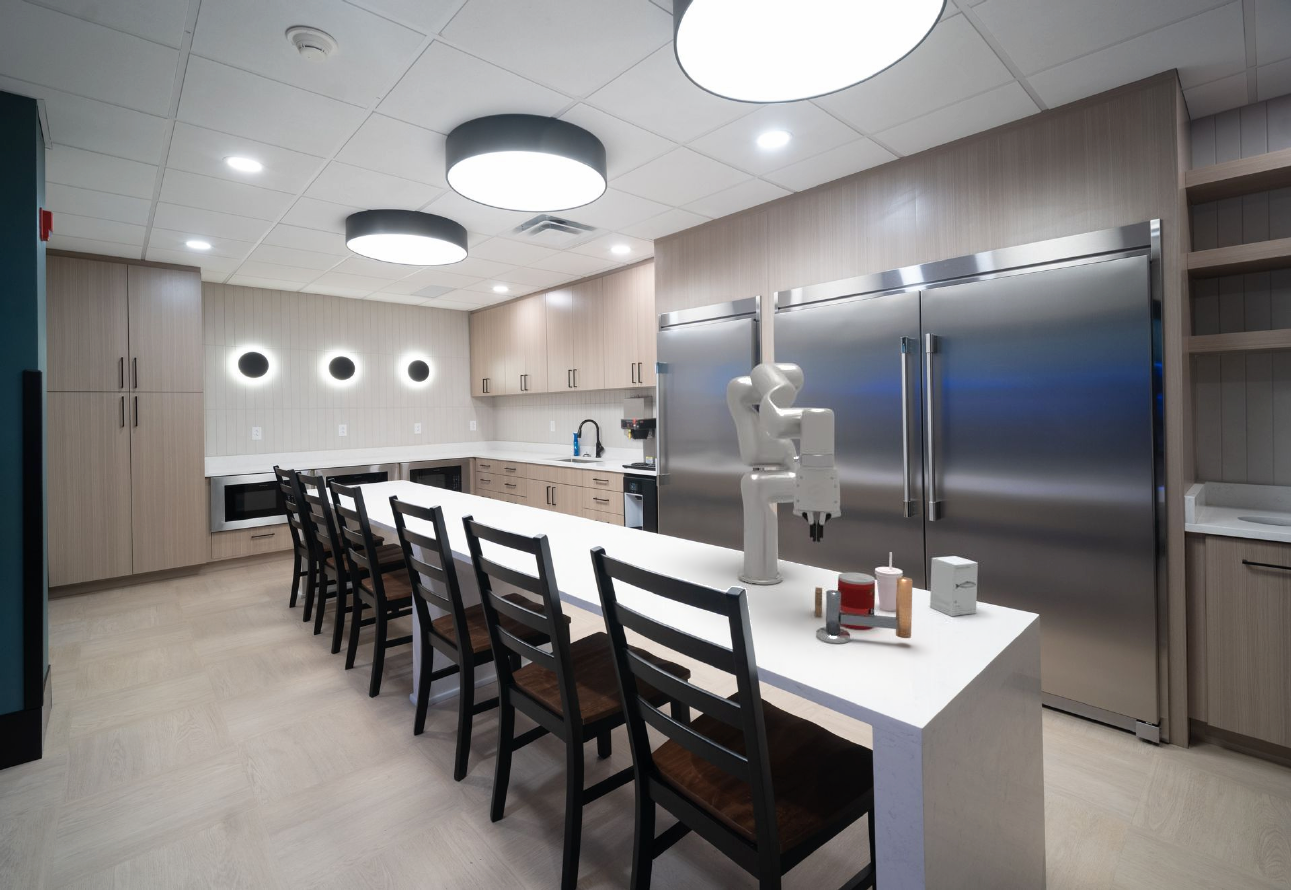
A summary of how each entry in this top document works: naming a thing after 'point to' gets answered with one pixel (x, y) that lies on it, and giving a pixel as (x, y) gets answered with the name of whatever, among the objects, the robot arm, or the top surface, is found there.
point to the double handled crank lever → (899, 622)
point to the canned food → (857, 595)
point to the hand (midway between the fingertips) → (816, 540)
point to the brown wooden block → (818, 602)
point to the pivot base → (833, 636)
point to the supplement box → (953, 585)
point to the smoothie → (887, 585)
